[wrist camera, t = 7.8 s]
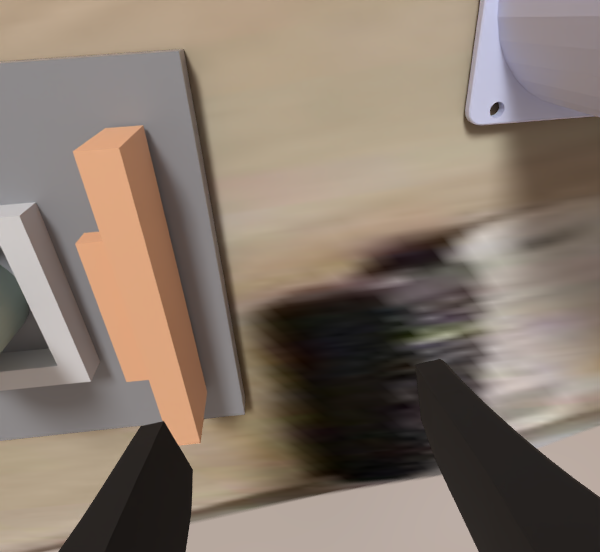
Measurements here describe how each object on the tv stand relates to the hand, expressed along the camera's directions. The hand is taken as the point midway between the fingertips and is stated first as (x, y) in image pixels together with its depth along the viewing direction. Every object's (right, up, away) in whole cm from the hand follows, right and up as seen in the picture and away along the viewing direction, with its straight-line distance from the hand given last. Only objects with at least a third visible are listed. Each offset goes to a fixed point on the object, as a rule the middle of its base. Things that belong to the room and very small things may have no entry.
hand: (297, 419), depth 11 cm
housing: (-11, +3, +7) cm, 13 cm away
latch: (-6, +3, +6) cm, 9 cm away
